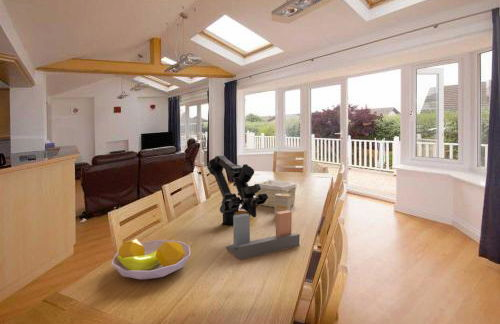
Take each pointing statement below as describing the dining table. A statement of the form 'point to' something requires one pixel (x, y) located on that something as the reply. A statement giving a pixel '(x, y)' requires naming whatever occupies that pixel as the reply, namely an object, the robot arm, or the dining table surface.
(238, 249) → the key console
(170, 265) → the fruit bowl
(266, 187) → the storage basket
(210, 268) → the dining table surface
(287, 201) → the supplement box
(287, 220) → the terracotta key
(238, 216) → the slate key
